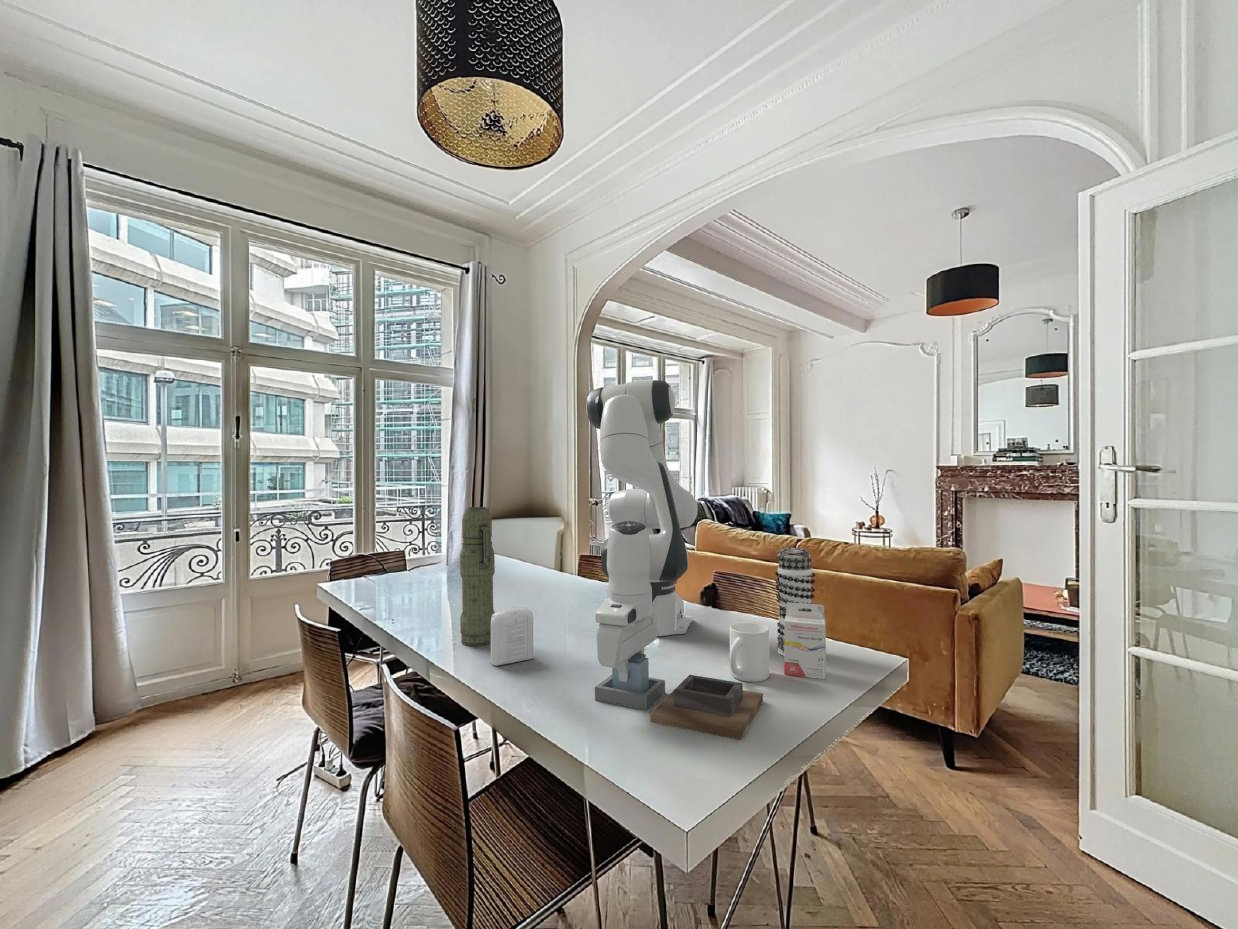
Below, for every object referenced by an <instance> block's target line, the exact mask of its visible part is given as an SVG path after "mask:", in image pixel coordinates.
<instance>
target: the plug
mask: <svg viewBox="0 0 1238 929" xmlns="http://www.w3.org/2000/svg"><path fill="white" fill-rule="evenodd" d="M649 664H650V663H649V657H647V654H645V653H644V654H640V653H636V654H635V655H633V656H632V657H631V658H629V659H628V664H627V668H628V670H630V679H629V680H628V681H626V682H623V681H620V680H619V672H618V670H617V668H612V669H611V671H612V674H611V675H612V686H613V688H615V689H621V690H626V691H632V692H637V693H643V694H644V693H645V692H647V691H648V690H649V678H650V674H649V671H650V670H649V667H650V666H649Z"/></svg>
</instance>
